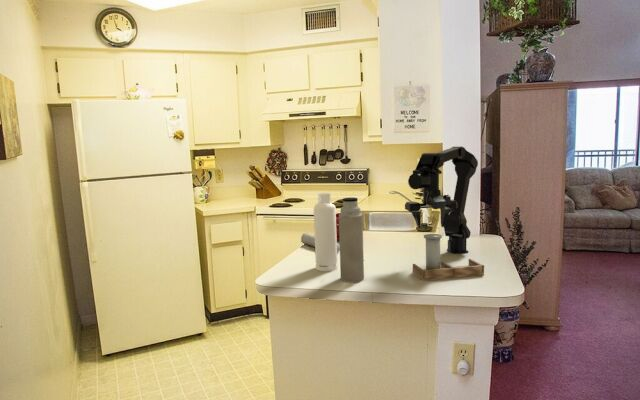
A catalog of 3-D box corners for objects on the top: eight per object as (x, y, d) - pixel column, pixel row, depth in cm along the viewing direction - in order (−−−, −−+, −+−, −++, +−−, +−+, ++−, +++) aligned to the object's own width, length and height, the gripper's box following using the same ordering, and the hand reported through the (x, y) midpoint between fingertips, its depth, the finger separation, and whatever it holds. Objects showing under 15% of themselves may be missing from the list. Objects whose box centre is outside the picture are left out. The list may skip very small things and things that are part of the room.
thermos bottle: (344, 274, 157) (341, 196, 153) (366, 276, 154) (364, 196, 150) (337, 281, 149) (335, 199, 145) (360, 283, 147) (358, 199, 143)
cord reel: (433, 269, 156) (432, 233, 155) (446, 273, 151) (445, 235, 150) (420, 272, 153) (420, 235, 152) (433, 276, 148) (432, 238, 147)
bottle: (312, 266, 167) (309, 193, 163) (332, 263, 171) (329, 191, 167) (321, 272, 160) (318, 195, 156) (341, 269, 163) (338, 193, 159)
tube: (343, 243, 186) (311, 233, 207) (334, 241, 183) (302, 231, 203) (340, 256, 186) (308, 245, 206) (331, 254, 183) (299, 243, 203)
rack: (470, 267, 160) (470, 258, 159) (483, 274, 151) (484, 265, 150) (412, 272, 156) (412, 263, 155) (422, 280, 147) (422, 270, 147)
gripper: (415, 190, 156) (415, 233, 158) (464, 187, 159) (464, 230, 161) (404, 187, 167) (404, 227, 169) (450, 184, 170) (450, 224, 172)
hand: (430, 227), depth 167 cm, fingers open, 9 cm apart
